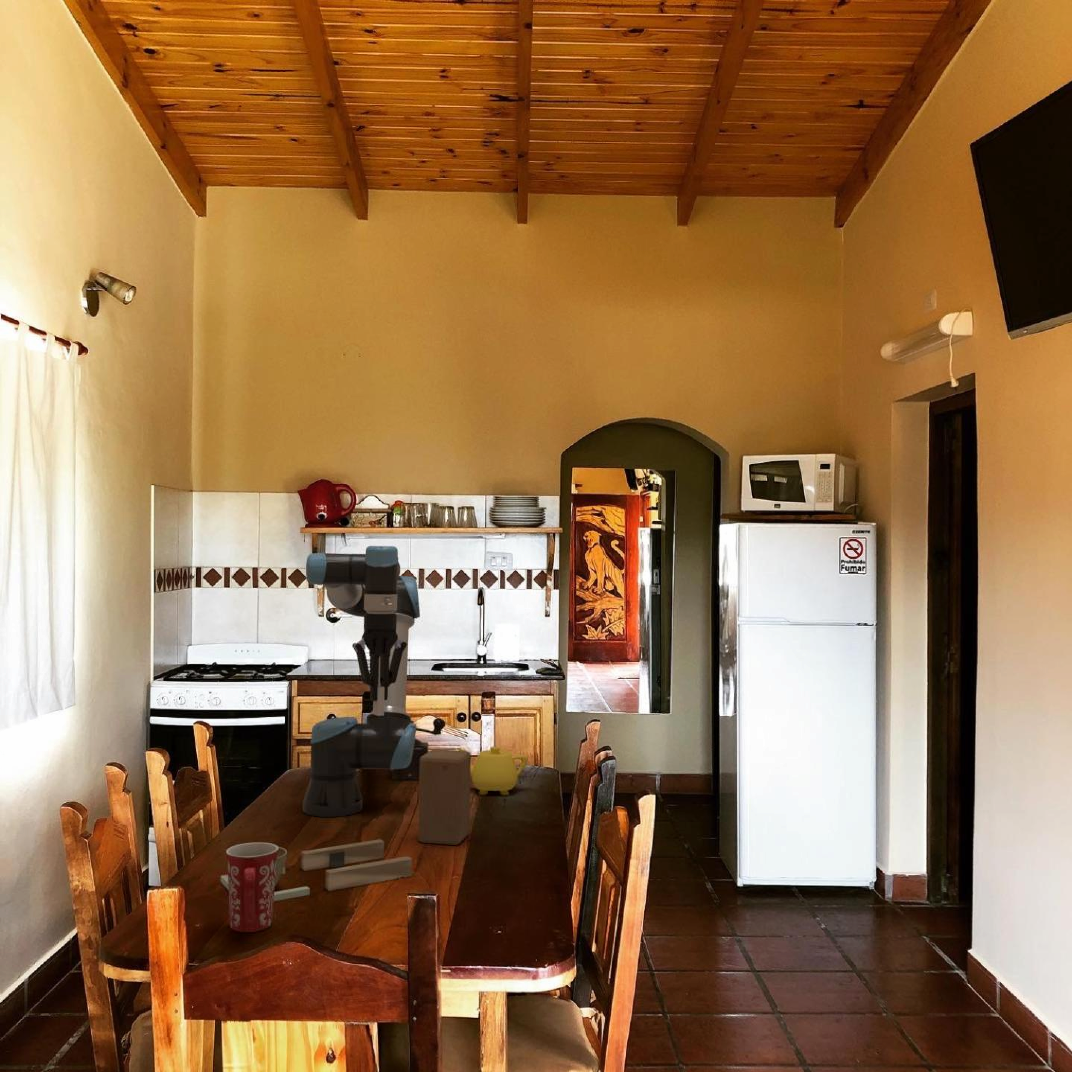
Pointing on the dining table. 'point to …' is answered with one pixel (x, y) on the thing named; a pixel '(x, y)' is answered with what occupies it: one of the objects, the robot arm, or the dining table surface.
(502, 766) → the teapot
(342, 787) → the robot arm
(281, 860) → the flower pot
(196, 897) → the dining table surface
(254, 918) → the mug
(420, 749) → the manual coffee grinder
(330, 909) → the dining table surface
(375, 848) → the twin plank rack
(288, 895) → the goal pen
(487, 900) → the dining table surface
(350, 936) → the dining table surface
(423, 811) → the wooden block
